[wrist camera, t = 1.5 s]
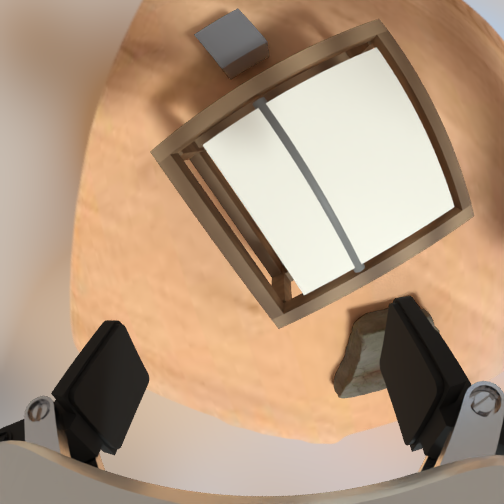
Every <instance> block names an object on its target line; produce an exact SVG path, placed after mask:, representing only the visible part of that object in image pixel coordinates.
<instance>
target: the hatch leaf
mask: <svg viewBox="0 0 504 504" xmlns="http://www.w3.org/2000/svg"><path fill="white" fill-rule="evenodd" d="M252 105H253V106H254V108H255V109H256V110H254V111H252V112H251V113H249V114H248V115H246V116H245V117H243V118H241V119H240V120H238V121H237V122H235V123H234V124H232V125H231V126H229V127H228V128H226V129H225V130H223V131H222V132H220V133H219V134H218V135H216V136H215V137H213V138H212V139H210V140H209V141H208V142H206V143H205V144H203V147H204V148H205V149H206V151H207V152H208V154H209V155H210V157H211V158H212V159H213V161H214V162H215V164H216V165H217V167H218V168H219V170H220V171H221V172H222V174H223V175H224V177H225V178H226V180H227V181H228V183H229V184H230V185H231V187H232V188H233V190H234V191H235V193H236V194H237V196H238V197H239V199H240V200H241V202H242V203H243V204H244V206H245V207H246V209H247V210H248V212H249V213H250V215H251V216H252V218H253V219H254V221H255V222H256V224H257V225H258V227H259V228H260V230H261V231H262V233H263V234H264V236H265V237H266V239H267V240H268V242H269V243H270V245H271V246H272V248H273V249H274V251H275V252H276V254H277V255H278V257H279V258H280V260H281V261H282V263H283V264H284V266H285V267H286V269H287V270H288V272H289V273H290V275H291V276H292V278H293V279H294V281H295V282H296V284H297V285H298V287H299V288H300V290H301V291H302V293H303V295H306V294H308V293H309V292H311V291H313V290H315V289H317V288H319V287H321V286H323V285H325V284H327V283H328V282H330V281H332V280H334V279H336V278H338V277H339V276H341V275H343V274H345V273H347V272H349V271H350V270H352V269H353V270H354V272H355V273H358V272H361V271H362V270H363V269H364V268H365V265H364V262H366V261H368V260H370V259H371V258H373V257H375V256H377V255H378V254H380V253H382V252H383V251H385V250H387V249H389V248H390V247H392V246H394V245H395V244H397V243H399V242H400V241H402V240H403V239H405V238H407V237H408V236H410V235H412V234H413V233H415V232H416V231H418V230H420V229H421V228H423V227H424V226H426V225H428V224H429V223H431V222H432V221H434V220H435V219H437V218H438V217H440V216H441V215H443V214H445V213H446V212H448V211H449V210H451V209H452V208H454V204H453V201H452V197H451V194H450V191H449V188H448V185H447V183H446V180H445V177H444V174H443V172H442V169H441V166H440V164H439V161H438V159H437V156H436V154H435V152H434V149H433V147H432V145H431V142H430V140H429V138H428V136H427V133H426V131H425V129H424V127H423V125H422V123H421V121H420V119H419V117H418V115H417V113H416V111H415V109H414V107H413V105H412V103H411V102H410V100H409V98H408V96H407V94H406V93H405V91H404V89H403V87H402V86H401V84H400V82H399V81H398V79H397V77H396V76H395V74H394V73H393V71H392V69H391V68H390V66H389V65H388V63H387V62H386V60H385V59H384V57H383V56H382V54H381V53H380V51H379V50H378V49H377V47H376V48H374V49H372V50H369V51H367V52H364V53H362V54H360V55H357V56H355V57H353V58H351V59H349V60H346V61H344V62H342V63H340V64H338V65H336V66H334V67H332V68H329V69H327V70H325V71H323V72H321V73H319V74H317V75H316V76H314V77H312V78H310V79H308V80H306V81H304V82H302V83H300V84H299V85H297V86H295V87H293V88H291V89H290V90H288V91H286V92H284V93H282V94H281V95H279V96H277V97H276V98H274V99H272V100H270V101H269V102H267V100H266V99H265V97H262V98H260V99H258V100H257V101H255V102H254V103H253V104H252Z"/></svg>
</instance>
